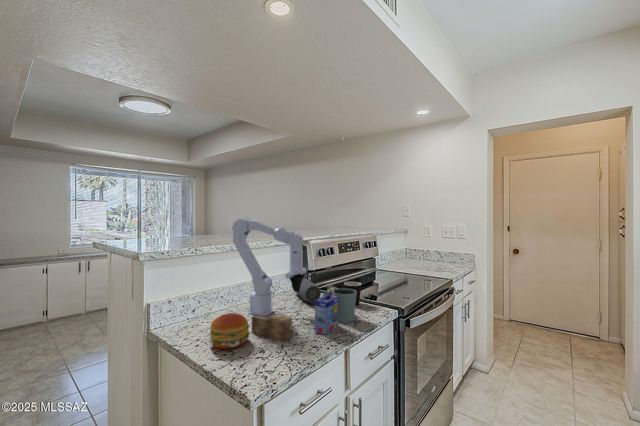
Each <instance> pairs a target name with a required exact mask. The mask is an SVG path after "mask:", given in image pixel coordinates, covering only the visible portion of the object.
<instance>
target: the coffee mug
mask: <svg viewBox="0 0 640 426" xmlns="http://www.w3.org/2000/svg"><path fill="white" fill-rule="evenodd" d="M336 288H338V289H340V288H347V289H353V290H355V291H356V292H357V294H356V303H355V307H356V306H359V305H360V299H361V292H362V282H358V281H345V282H344V283H343V285H338V286H336Z"/></svg>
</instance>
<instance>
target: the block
mask: <svg viewBox="0 0 640 426" xmlns="http://www.w3.org/2000/svg"><path fill="white" fill-rule="evenodd" d="M267 318H272V319H277V320H282V321H287V322H290V331H292V330H293V325H292V324H293V320H292V319H293V317H292V316H288V315H283V314H282V315H281V314H276V313H273V315H270V316H268V317H267Z"/></svg>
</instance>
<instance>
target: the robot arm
mask: <svg viewBox="0 0 640 426" xmlns="http://www.w3.org/2000/svg"><path fill="white" fill-rule="evenodd" d="M231 230H232V243H233V245H234V246H235V249H236V250H237V252H238V254H239V256H240V257H241V259H242V261H243V263H244V265H245V266H246V268H247V270H248V272H249V274H250V276H251V283H252V285H253V290H254V291H253V292H252V293H251V294H250V296H249V311H248V314H250V315H251V314H252V315H257V316H262V317H267V316H269V315H271V314H274V312H276V309H272V308H273V307H272V290H271V288H272V286H273V279H272V278H271V276H269V275H267V273H266V272H265V271H264V270H263V268H261V265H260V264H259V262H258V260H257V258H256V256H255V255H254V252H253V251H252V249H251V248H250V245H249V244H248V241H247V238H248V236H249V234H250V232H251V231H259V232H262V233H264V234H267V235H271V236H272V237H273V238H274V240H276V241H278V242H281V243H283V244H286V245H289V247H290V249H289V271H288V272H287V273H285V279H289V280H290V283H291V284H292V285H293V288H292V290H293V289H294V290H293V292H295V293H296V292H299V290H300V286H301V282H302V280H303V278H305V273H307V269H308V268H306V267H304V257H303V256H304V251H303V249H304V248H303V243H304V238H303V236H302V235H301V234H300V233H295V231H290V230H287V229H286V228H285V227H284V226H283V227H277V228H273V227H272V226H269V225H267V224H265V223H263V222H261V221H258V220H255V219H250V218H238V219H236V220H235V221H234V223H232V227H231Z"/></svg>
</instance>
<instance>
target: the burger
mask: <svg viewBox="0 0 640 426" xmlns="http://www.w3.org/2000/svg"><path fill="white" fill-rule="evenodd" d="M249 328H250V325H249V321H248V319H247V318H246V317H245V315H242V314H241V313H236V312H235V313H234V312H233V313H232V312H231V313H225V314H221V315H220V316H218V317H216V318H215V319H213V321H212V322H211V324H210V331H209V332H210V336H209V339H208V343H209V344H211V345H212V347H213V348H216V349H219V350H229V349H230V350H231V349H235V348H239V347H241V346H242V345H244V344H245V343H246V342H247V340H248V339H249V337H250V332H249Z"/></svg>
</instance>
